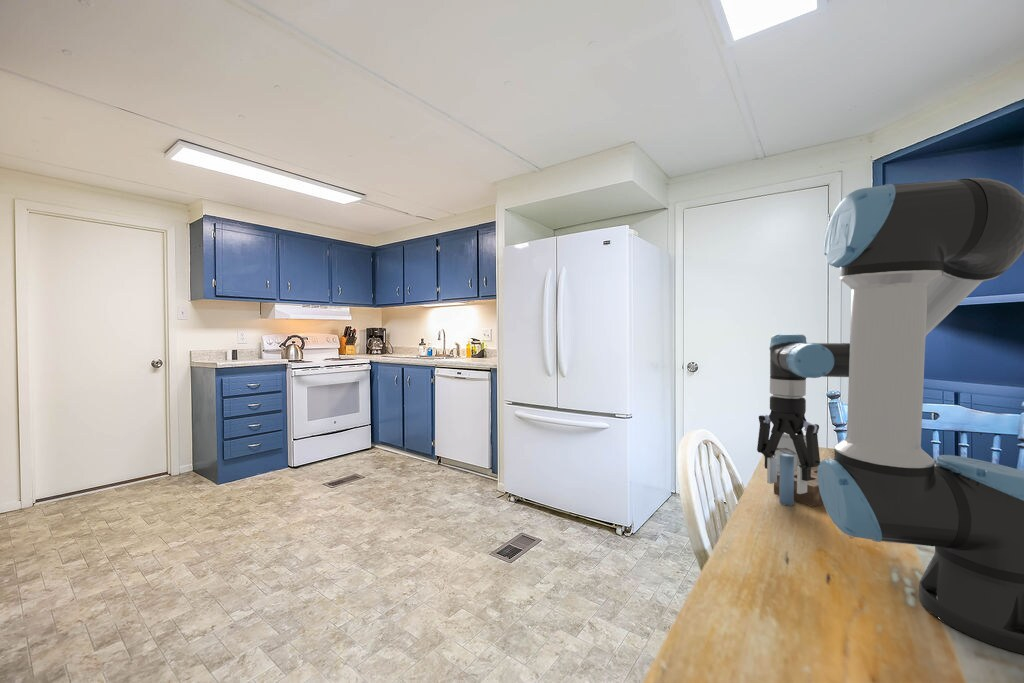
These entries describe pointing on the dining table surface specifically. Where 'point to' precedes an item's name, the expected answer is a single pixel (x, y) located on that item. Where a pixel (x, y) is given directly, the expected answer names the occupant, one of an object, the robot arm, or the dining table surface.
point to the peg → (786, 480)
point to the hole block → (813, 490)
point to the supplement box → (787, 450)
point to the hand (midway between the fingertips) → (786, 487)
